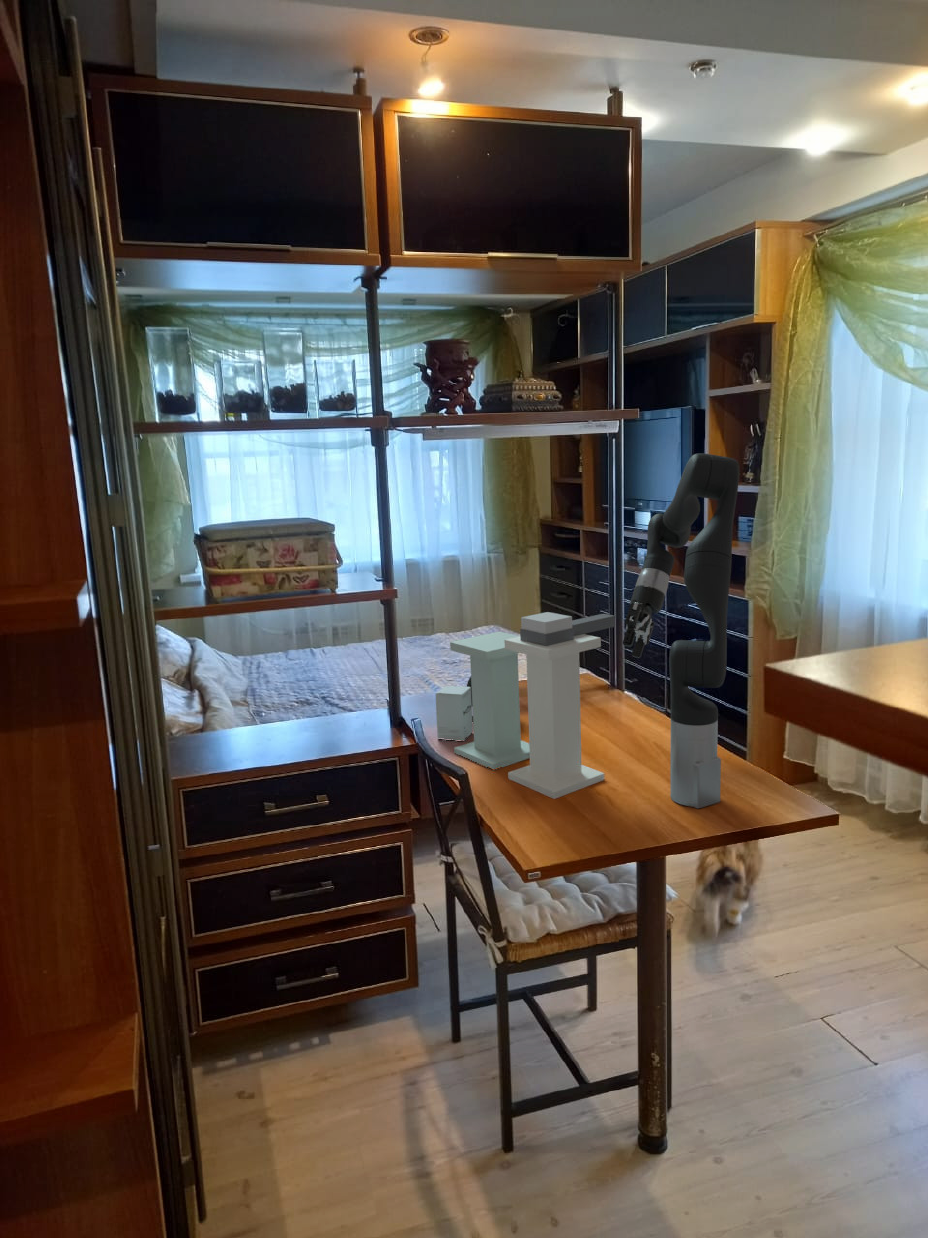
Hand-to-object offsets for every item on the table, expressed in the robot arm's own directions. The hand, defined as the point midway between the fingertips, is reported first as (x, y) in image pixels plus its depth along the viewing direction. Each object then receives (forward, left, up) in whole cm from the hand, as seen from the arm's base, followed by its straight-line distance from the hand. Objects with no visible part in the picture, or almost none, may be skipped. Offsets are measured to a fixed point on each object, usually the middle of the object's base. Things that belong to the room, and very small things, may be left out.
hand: (631, 651), depth 205 cm
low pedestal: (+11, +32, -23) cm, 41 cm away
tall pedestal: (-10, +29, -23) cm, 38 cm away
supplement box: (+28, +35, -23) cm, 50 cm away
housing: (-9, +23, +9) cm, 26 cm away
